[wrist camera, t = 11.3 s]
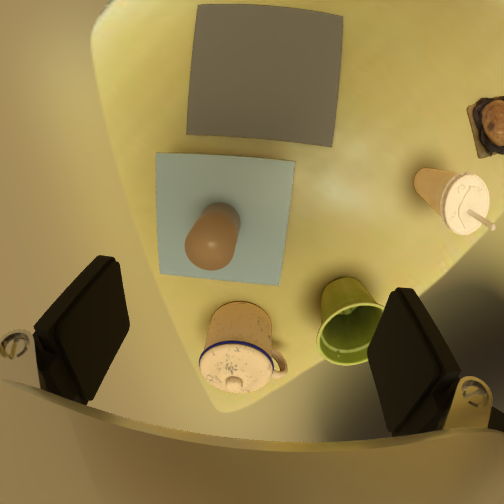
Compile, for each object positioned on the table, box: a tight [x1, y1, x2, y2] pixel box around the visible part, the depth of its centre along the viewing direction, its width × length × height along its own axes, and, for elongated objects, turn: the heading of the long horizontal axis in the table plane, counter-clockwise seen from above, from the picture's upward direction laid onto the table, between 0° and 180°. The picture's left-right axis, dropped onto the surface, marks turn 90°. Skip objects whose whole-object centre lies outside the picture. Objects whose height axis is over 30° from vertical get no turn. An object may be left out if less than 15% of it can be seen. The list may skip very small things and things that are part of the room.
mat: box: [186, 4, 343, 147], centre depth 27 cm, size 16×16×1 cm
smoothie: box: [414, 168, 495, 235], centre depth 25 cm, size 6×6×14 cm
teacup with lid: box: [199, 302, 288, 393], centre depth 37 cm, size 12×9×12 cm
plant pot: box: [317, 277, 385, 365], centre depth 35 cm, size 9×9×9 cm
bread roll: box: [467, 96, 504, 158], centre depth 26 cm, size 11×8×4 cm
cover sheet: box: [156, 153, 295, 286], centre depth 26 cm, size 13×13×7 cm
